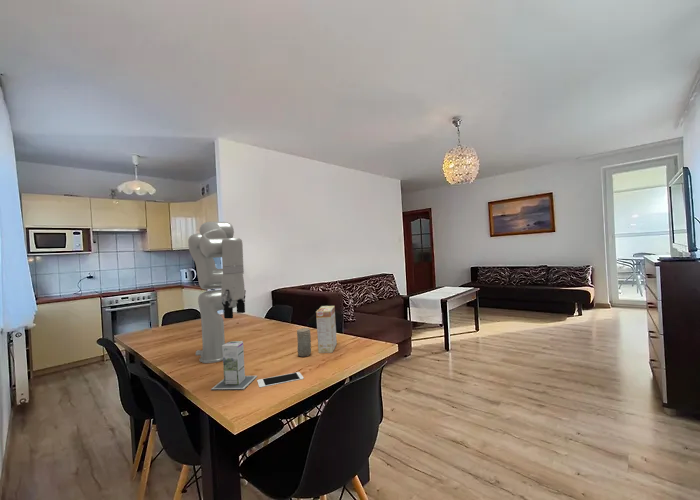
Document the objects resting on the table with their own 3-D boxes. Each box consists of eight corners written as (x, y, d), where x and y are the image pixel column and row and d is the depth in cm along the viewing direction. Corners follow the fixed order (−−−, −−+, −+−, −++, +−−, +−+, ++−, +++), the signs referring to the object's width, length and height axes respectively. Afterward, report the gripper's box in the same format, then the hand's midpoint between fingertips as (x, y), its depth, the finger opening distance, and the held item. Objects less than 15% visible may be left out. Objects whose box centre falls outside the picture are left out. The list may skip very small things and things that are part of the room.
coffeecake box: (323, 344, 166) (321, 306, 167) (337, 343, 166) (335, 305, 166) (317, 353, 151) (315, 311, 152) (332, 352, 151) (330, 310, 151)
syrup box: (245, 379, 122) (243, 340, 123) (238, 385, 116) (236, 344, 117) (231, 379, 123) (229, 340, 123) (223, 385, 117) (221, 345, 117)
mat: (211, 390, 114) (210, 388, 114) (227, 377, 126) (227, 376, 126) (243, 390, 113) (243, 388, 113) (257, 376, 125) (257, 375, 125)
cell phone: (257, 381, 122) (256, 379, 122) (299, 373, 128) (299, 371, 128) (259, 388, 114) (259, 387, 114) (304, 379, 120) (304, 378, 120)
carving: (298, 358, 145) (296, 331, 145) (297, 353, 153) (296, 327, 153) (312, 356, 146) (310, 330, 147) (311, 352, 154) (309, 326, 154)
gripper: (234, 269, 133) (236, 311, 133) (211, 272, 116) (213, 320, 116) (252, 268, 132) (254, 310, 132) (231, 272, 115) (233, 320, 115)
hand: (235, 315), depth 124 cm, fingers open, 9 cm apart
